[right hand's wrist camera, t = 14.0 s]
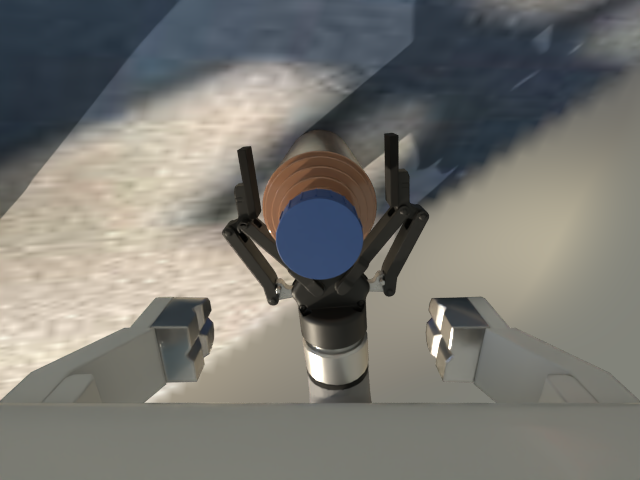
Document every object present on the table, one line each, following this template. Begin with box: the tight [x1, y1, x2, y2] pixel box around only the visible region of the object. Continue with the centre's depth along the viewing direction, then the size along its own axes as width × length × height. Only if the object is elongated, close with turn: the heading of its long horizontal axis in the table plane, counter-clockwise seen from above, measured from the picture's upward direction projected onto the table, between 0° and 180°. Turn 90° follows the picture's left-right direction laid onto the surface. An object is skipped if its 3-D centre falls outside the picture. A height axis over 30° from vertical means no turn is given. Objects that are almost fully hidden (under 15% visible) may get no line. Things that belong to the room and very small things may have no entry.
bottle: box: [263, 130, 377, 241], centre depth 27 cm, size 7×7×23 cm
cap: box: [276, 188, 363, 279], centre depth 17 cm, size 4×4×2 cm
